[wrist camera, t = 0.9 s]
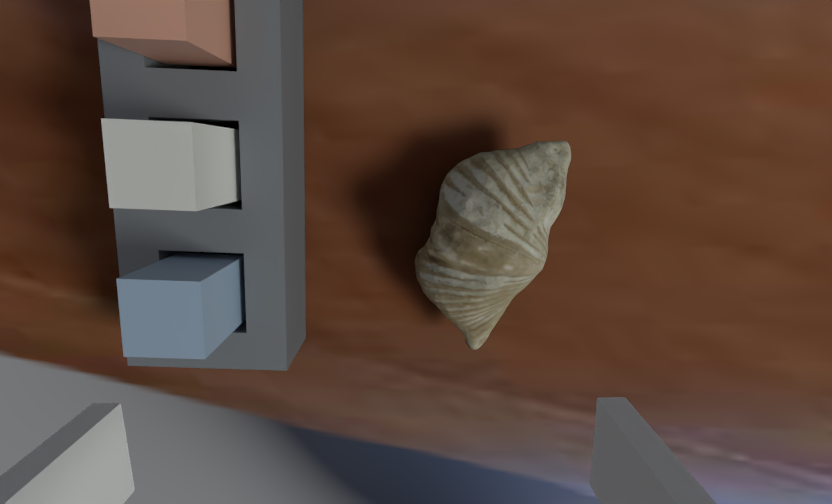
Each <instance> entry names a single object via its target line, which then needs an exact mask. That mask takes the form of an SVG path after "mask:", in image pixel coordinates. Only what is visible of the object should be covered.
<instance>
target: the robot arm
mask: <svg viewBox="0 0 832 504" xmlns="http://www.w3.org/2000/svg"><path fill="white" fill-rule="evenodd" d="M590 485H591V487H592V489H593V491H594V493H595V495H596V496H597V498H598V500H599V502H600V504H716V503H715V501H714V500H713V499H712V498H711V497H710V496H709V494H708V493H707V492H706V491H705V490H704V489H703V487H702V486H701V485H700V484H699V483H698V482H697V481H696V479H695V478H694V477H693V476H692V475H691V474H690V472H689V471H688V470H687V469H686V468H685V467H684V465H683V464H682V463H681V462H680V461H679V460H678V458H677V457H676V456H675V455H674V454H673V453H672V451H671V450H670V449H669V448H668V447H667V446H666V444H665V443H664V442H663V441H662V440H661V439H660V437H659V436H658V435H657V434H656V433H655V432H654V431H653V429H652V428H651V427H650V426H649V425H648V424H647V422H646V421H645V420H644V419H643V418H642V417H641V415H640V414H639V413H638V412H637V411H636V410H635V408H634V407H633V406H632V405H631V404H630V403H629V401H628V400H627V399H626V398H625V397H615V398H597V407H596V419H595V431H594V443H593V455H592V467H591V478H590ZM134 490H135V488H134V482H133V476H132V470H131V463H130V457H129V451H128V445H127V439H126V433H125V427H124V421H123V415H122V408H121V403H93V404H92V405H90V406H89V407H88V408H86V409H85V410H84V411H83V412H81V413H80V414H79V415H77V416H76V417H75V418H74V419H72V420H71V421H70V422H69V423H67V424H66V425H65V426H64V427H62V428H61V429H60V430H58V431H57V432H56V433H55V434H53V435H52V436H51V437H50V438H48V439H47V440H46V441H44V442H43V443H42V444H41V445H39V446H38V447H37V448H36V449H34V450H33V451H32V452H31V453H29V454H28V455H27V456H25V457H24V458H23V459H22V460H20V461H19V462H18V463H17V464H16V465H14V466H13V467H11V468H10V469H9V470H8V471H7V472H5V473H4V474H3V475H1V476H0V504H124V502H125V501H126V500H127V499H128V498H129V496H130V495H131V494H132V493H133V491H134Z"/></svg>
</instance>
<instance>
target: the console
mask: <svg viewBox="0 0 832 504" xmlns="http://www.w3.org/2000/svg"><path fill="white" fill-rule="evenodd" d="M234 5H235V32H236V59H237V71H216V70H193V69H190V66H189V65H167V64H164V63H161V62H159V61H156V60H154V59H151V58H148V57H146V56H143V55H140V54H138V53H135V52H132V51H130V50H127V49H125V48H122V47H119V46H117V45H114V44H111V43H109V42H106V41H103V40H101V39H98V38H97V41H98V52H99V62H100V73H101V84H102V94H103V105H104V116H105V119H129V120H153V121H176V122H194V123H200V124H215V125H239V140H240V168H241V195H242V200H239V201H235V202H231V203H227V204H223V205H219V206H215V207H211V208H208V209H204V210H200V211H176V210H150V209H124V208H113V211H114V222H115V233H116V243H117V254H118V265H119V275H120V277H122V276H124V275H126V274H129V273H131V272H134V271H136V270H139V269H141V268H143V267H146V266H148V265H151V264H153V263H155V262H158V261H160V260H163V259H165V258H168V257H170V256H172V255H175V254H177V253H200V252H219V253H244V276H245V303H246V319H245V320H244V321H243V322H242V323H241V324H240V325H239V326H238V327H237V328H236V329H235V330H234V331H233V332H232V333H231V334H230V335H229V336H228V337H227V338H226V339H225V340H224V341H223V342H222V343H221V344H220V345H219V346H218V347H217V348H216V349H215V350H214V351H213V352H212V353H211V354H210V355H209V356H208V357H207V358H206V359H179V358H148V357H127V360H128V366H158V367H189V368H221V369H252V370H284V371H287V369H288V367H289V366H290V364H291V362H292V361H293V359H294V357H295V355H296V354H297V352H298V350H299V349H300V347H301V345H302V343H303V342H304V340H305V338H306V296H305V186H304V76H303V0H234Z"/></svg>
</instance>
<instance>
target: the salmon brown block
mask: <svg viewBox="0 0 832 504" xmlns="http://www.w3.org/2000/svg"><path fill="white" fill-rule="evenodd" d="M90 10H91V20H92V31H93V37H96V38H98V39H101V40H103V41H106V42H109V43H111V44H114V45H117V46H119V47H122V48H125V49H127V50H130V51H132V52H135V53H138V54H140V55H143V56H146V57H148V58H151V59H154V60H156V61H159V62H161V63H164V64H167V65H189V66H211V67H234V68H237V59H236V32H235V5H234V0H90Z"/></svg>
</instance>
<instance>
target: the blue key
mask: <svg viewBox="0 0 832 504" xmlns="http://www.w3.org/2000/svg"><path fill="white" fill-rule="evenodd" d="M116 282H117V292H118V303H119V313H120V323H121V334H122V344H123V355H124V357H148V358H179V359H206V358H207V357H208V356H209V355H210V354H211V353H212V352H213V351H214V350H215V349H216V348H217V347H218V346H219V345H220V344H221V343H222V342H223V341H224V340H225V339H226V338H227V337H228V336H229V335H230V334H231V333H232V332H233V331H234V330H235V329H236V328H237V327H238V326H239V325H240V324H241V323H242V322H243V321H244V320H245V319H246V303H245V276H244V255H229V254H202V253H177V254H175V255H172V256H170V257H168V258H165V259H163V260H160V261H158V262H155V263H153V264H151V265H148V266H146V267H143V268H141V269H139V270H136V271H134V272H131V273H129V274H126V275H124V276H122V277H119V278H117V279H116Z"/></svg>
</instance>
